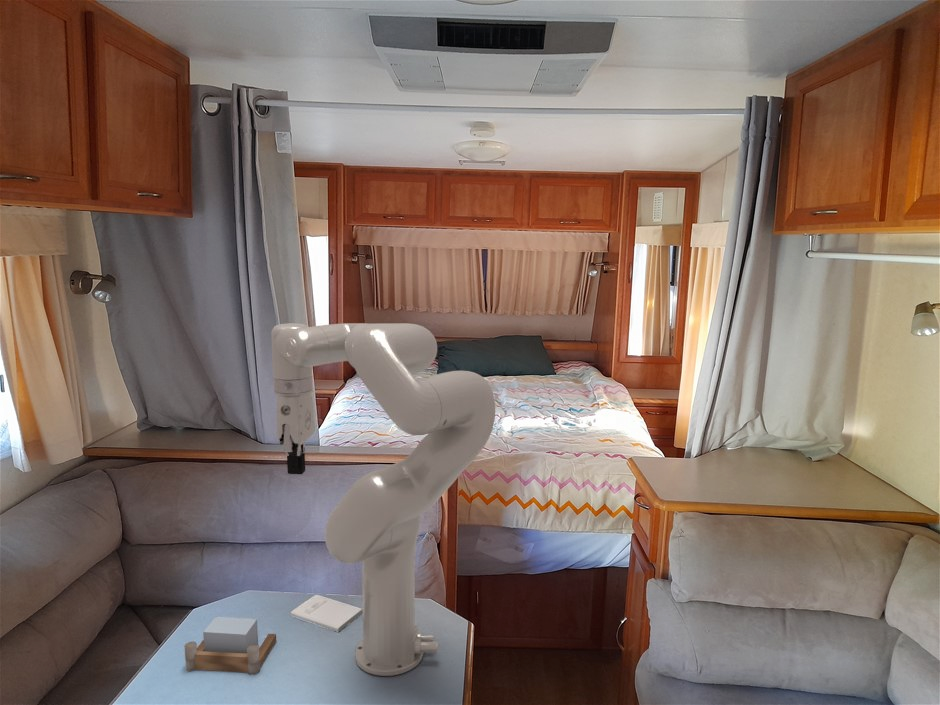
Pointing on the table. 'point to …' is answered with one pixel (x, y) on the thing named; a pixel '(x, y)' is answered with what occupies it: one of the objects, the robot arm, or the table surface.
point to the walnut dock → (228, 657)
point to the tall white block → (230, 635)
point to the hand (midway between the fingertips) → (296, 472)
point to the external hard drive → (327, 612)
